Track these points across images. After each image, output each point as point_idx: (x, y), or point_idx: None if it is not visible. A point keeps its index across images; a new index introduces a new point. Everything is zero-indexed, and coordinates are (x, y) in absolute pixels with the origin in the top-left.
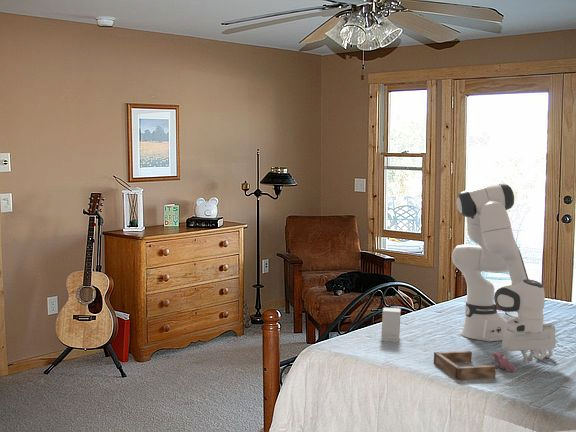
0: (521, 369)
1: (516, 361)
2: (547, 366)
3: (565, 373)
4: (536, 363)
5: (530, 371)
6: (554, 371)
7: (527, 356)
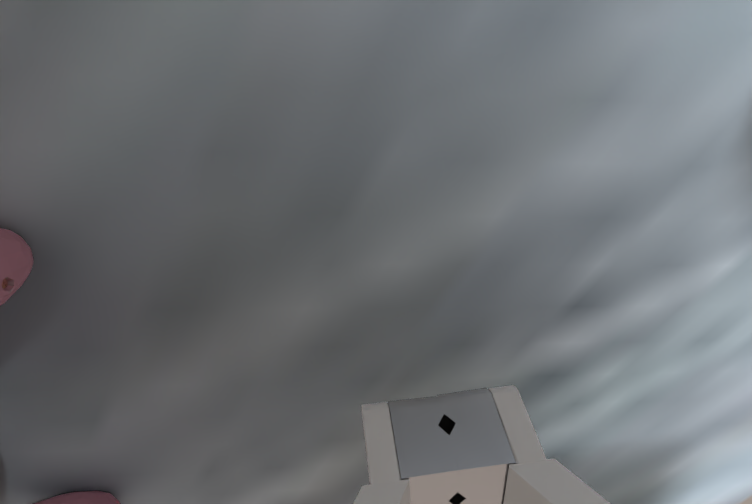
0: (257, 425)
1: (371, 37)
2: (732, 317)
3: (701, 493)
4: (697, 185)
5: (348, 472)
6: (642, 458)
7: (439, 499)
